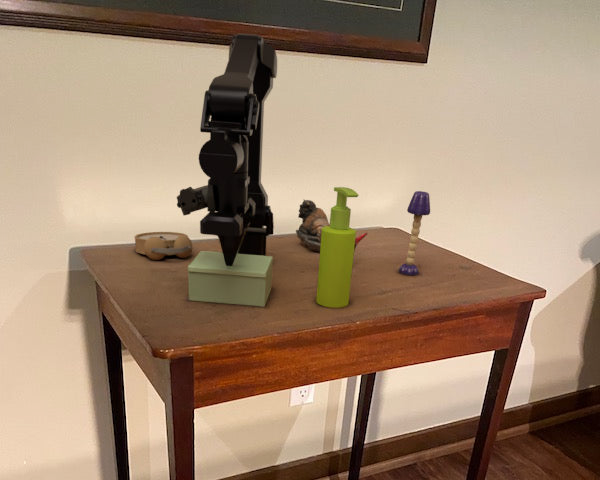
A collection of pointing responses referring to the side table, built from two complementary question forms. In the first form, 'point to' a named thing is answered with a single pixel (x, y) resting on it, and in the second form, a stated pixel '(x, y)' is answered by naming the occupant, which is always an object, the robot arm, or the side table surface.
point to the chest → (230, 288)
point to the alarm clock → (163, 244)
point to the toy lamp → (415, 229)
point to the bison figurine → (311, 224)
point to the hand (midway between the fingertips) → (229, 265)
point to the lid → (240, 267)
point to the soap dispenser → (336, 254)
